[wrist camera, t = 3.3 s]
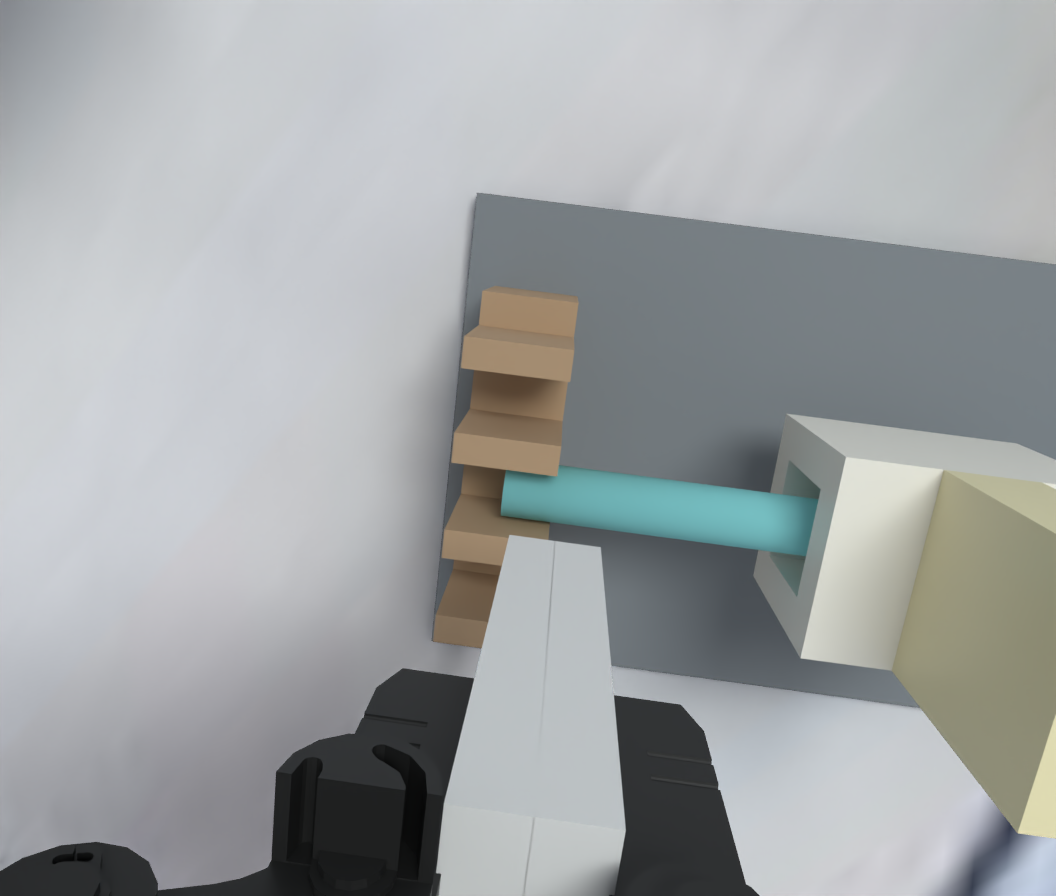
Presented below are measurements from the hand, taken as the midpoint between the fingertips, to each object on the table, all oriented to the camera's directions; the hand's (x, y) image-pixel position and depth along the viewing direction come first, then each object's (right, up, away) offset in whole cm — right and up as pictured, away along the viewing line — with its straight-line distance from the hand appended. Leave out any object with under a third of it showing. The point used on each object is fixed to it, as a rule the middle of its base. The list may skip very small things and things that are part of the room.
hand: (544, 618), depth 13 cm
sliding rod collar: (+9, +1, +8) cm, 12 cm away
